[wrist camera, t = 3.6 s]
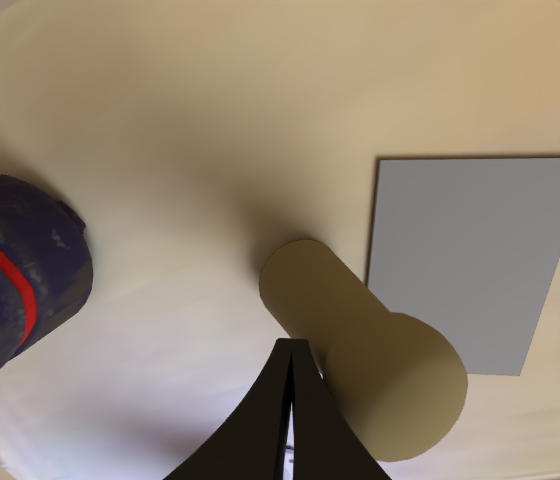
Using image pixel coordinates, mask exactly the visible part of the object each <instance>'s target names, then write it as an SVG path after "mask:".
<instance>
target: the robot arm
mask: <svg viewBox="0 0 560 480" xmlns="http://www.w3.org/2000/svg"><path fill="white" fill-rule="evenodd" d="M291 404H292V413H293V432H294V450H292V449H286V444H287V436H288V428H289V420H290V412H291ZM163 480H392V479H391V478H390V477H389V476H388V475H387V474H386V473H385V471H384V470H383V469H382V468H381V467H380V465H379V464H378V463H377V462H376V461H375V459H374V458H373V457H372V456H371V454H370V453H369V452H368V450H367V449H366V448H365V446H364V445H363V444H362V442H361V441H360V440H359V439H358V437H357V436H356V435H355V433H354V432H353V430H352V429H351V427H350V426H349V425H348V423H347V422H346V420H345V419H344V417H343V415H342V414H341V412H340V411H339V409H338V407H337V406H336V404H335V402H334V401H333V399H332V397H331V395H330V393H329V391H328V390H327V388H326V386H325V384H324V382H323V380H322V377H321V375H320V373H319V371H318V369H317V366H316V364H315V361H314V358H313V356H312V353H311V349H310V345H309V341H308V340H307V339H291V338H278V339H277V340H276V343H275V345H274V348H273V350H272V352H271V354H270V356H269V358H268V360H267V362H266V364H265V366H264V367H263V369H262V371H261V373H260V374H259V376H258V378H257V379H256V381H255V382H254V384H253V385H252V387H251V388H250V390H249V391H248V393H247V394H246V395H245V397H244V398H243V400H242V401H241V402H240V403H239V405H238V406H237V407H236V409H235V410H234V411H233V412H232V413H231V415H230V416H229V417H228V418H227V419H226V420H225V422H224V423H223V424H222V425H221V426H220V427H219V428H218V429H217V430H216V431H215V432H214V434H213V435H211V436H210V437H209V438H208V439H207V440H206V441H205V442H204V443H203V444H202V445H201V446H200V447H199V448H198V449H197V450H196V451H195V452H194V453H193V454H192V455H191V456H190V457H189V458H188V459H186V460H185V461H184V462H183V463H182V464H181V465H179V466H178V467H177V468H176V469H175V470H174V471H172V472H171V473H170V474H169V475H168V476H167V477H165V478H164V479H163Z"/></svg>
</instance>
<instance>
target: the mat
mask: <svg viewBox="0 0 560 480" xmlns="http://www.w3.org/2000/svg"><path fill="white" fill-rule="evenodd" d="M559 258H560V158H514V159H429V160H379V165H378V175H377V186H376V196H375V206H374V216H373V226H372V237H371V247H370V257H369V267H368V278H367V288H368V289H369V290H370V291H371V292H372V293H373V294H374V295H375V296H376V297H377V298H378V299H379V300H380V301H381V302H382V304H383V305H384V306H385V307H386V308H387V309H388V310H389V311H390V312H397V313H404V314H407V315H409V316H412V317H415V318H417V319H419V320H421V321H423V322H425V323H427V324H428V325H430V326H431V327H433V328H434V329H436V330H437V331H439V332H440V333H442V335H443V336H444V337H445V338H446V339H447V340H448V341H449V342H450V343H451V345H452V346H453V347H454V349H455V350H456V352H457V353H458V355H459V356H460V358H461V360H462V362H463V365H464V367H465V369H466V373H467V374H485V375H507V376H520V374H521V371H522V368H523V365H524V362H525V359H526V356H527V353H528V350H529V347H530V344H531V341H532V338H533V335H534V332H535V329H536V326H537V323H538V320H539V317H540V314H541V311H542V308H543V305H544V302H545V299H546V296H547V294H548V291H549V288H550V285H551V282H552V279H553V276H554V273H555V270H556V267H557V264H558V261H559Z"/></svg>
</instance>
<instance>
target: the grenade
mask: <svg viewBox="0 0 560 480" xmlns="http://www.w3.org/2000/svg"><path fill="white" fill-rule="evenodd" d="M85 226H86V225H85V224H84V223H83V221H82V220H81V219H80V218H79V217H78V215H77V214H76V213H75V212H74V211H73V210H71V209H70V208H69V207H68V206H67V205H65V204H64V203H63V202H62V201H60V202H54V201H53V200H52V199H51V198H50V197H49V196H47V195H46V194H45V193H43V192H42V191H40V190H38V189H36V188H35V187H33V186H31V185H30V184H28V183H26V182H23V181H21V180H18V179H15V178H12V177H9V176H7V175H0V368H2V367H3V366H4V364H5V363H6V362H8V361H9V360H11V359H13V358H14V357H16V356H18V355H19V354H21V353H22V352H23V351H25V350H26V349H28V348H29V347H30V346H32V345H33V344H35V343H36V342H37V341H39V340H40V339H42V338H43V337H44V336H46V335H47V334H49V333H50V332H51V331H53V330H54V329H55V328H57V327H58V326H60V325H61V324H62V323H64V322H65V321H67V320H68V319H69V318H71V317H72V316H74V315H75V314H76V313H77V312H78V311H79V310H80V309H81V308H82V307H83V306H84V304H85V303H86V301H87V299H88V297H89V295H90V292H91V289H92V282H93V268H92V259H91V256H90V253H89V250H88V247H87V245H86V242H85V240H84V238H83V236H82V235H83V232H84V229H85Z"/></svg>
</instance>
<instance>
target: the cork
mask: <svg viewBox="0 0 560 480" xmlns="http://www.w3.org/2000/svg"><path fill="white" fill-rule="evenodd" d="M259 291H260V297H261V299H262V301H263V303H264V305H265V307H266V308H267V309H268V311H269V312H270V313H271V314H272V315H273V317H274V318H275V319H276V320H277V321H278V323H279V324H280V325H281V326H282V327H283V329H284V330H285V331H286V332H287V333H288V335H289V336H290V337H291V338H292V339H307V340H308V341H309V345H310V349H311V353H312V356H313V358H314V361H315V364H316V366H317V369H318V371H319V372H320V373H321V374H322V375H323V382H324V384H325V386H326V388H327V390H328V391H329V393H330V395H331V397H332V399H333V401H334V402H335V404H336V406H337V407H338V409H339V411H340V412H341V414H342V415H343V417H344V419H345V420H346V422H347V423H348V425H349V426H350V427H351V429H352V430H353V432H354V433H355V435H356V436H357V437H358V439H359V440H360V441H361V442H362V444H363V445H364V446H365V448H366V449H367V450H368V452H369V453H370V454H371V456H372V457H373V458H374V459H375V460H378V461H384V462H396V461H402V460H407V459H411V458H414V457H416V456H418V455H420V454H422V453H424V452H426V451H427V450H429V449H430V448H432V447H433V446H434V445H436V444H437V443H438V442H439V441H440V440H441V439H442V438H443V437H444V436H445V435H446V434H447V433H448V432H449V431H450V430H451V428H452V427H453V425H454V424H455V422H456V421H457V420H458V418H459V416H460V413H461V411H462V409H463V407H464V404H465V398H466V393H467V387H468V379H467V373H466V369H465V367H464V365H463V362H462V360H461V358H460V356H459V355H458V353H457V352H456V350H455V349H454V347H453V346H452V345H451V343H450V342H449V341H448V340H447V339H446V338H445V337H444V336H443V335H442V333H440V332H439V331H437V330H436V329H434V328H433V327H431V326H430V325H428V324H427V323H425V322H423V321H421V320H419V319H417V318H415V317H412V316H409V315H407V314H404V313H397V312H390V311H389V310H388V309H387V308H386V307H385V306H384V305H383V304H382V302H381V301H380V300H379V299H378V298H377V297H376V296H375V295H374V294H373V293H372V292H371V291H370V290H369V289H368V288H367V287H366V286H365V285H364V284H363V283H362V282H361V281H360V280H359V279H358V278H357V276H356V275H355V274H354V273H353V272H352V271H351V270H350V269H349V268H348V267H347V266H346V265H345V264H344V263H343V262H342V261H341V260H340V259H339V258H338V257H337V256H336V255H335V254H334V253H333V252H332V250H331V249H330V248H329V247H327V246H325V245H324V244H322V243H320V242H318V241H313V240H307V239H304V240H298V241H292V242H290V243H288V244H286V245H284V246H282V247H280V248H279V249H278V250H277V251H276V252H275V253H274V254H273V255H271V256H270V257H269V259H268V260H267V262H266V264H265V265H264V267H263V269H262V271H261V276H260V280H259Z"/></svg>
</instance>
